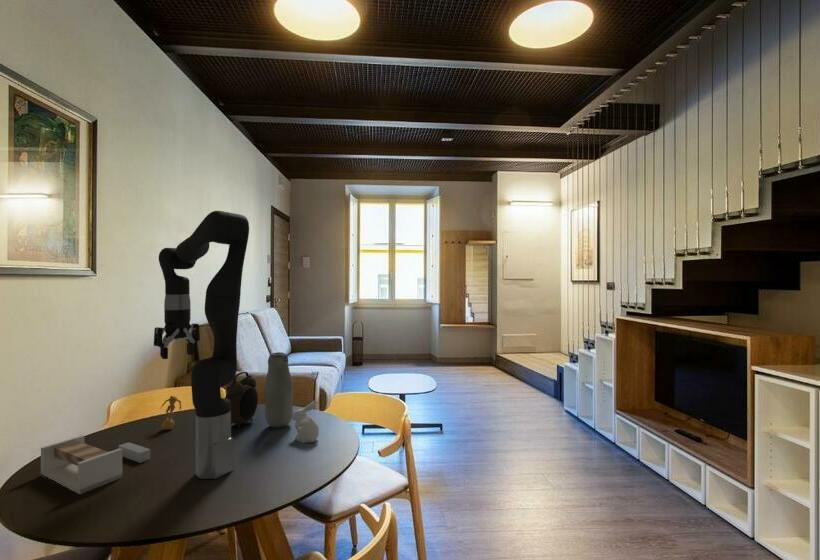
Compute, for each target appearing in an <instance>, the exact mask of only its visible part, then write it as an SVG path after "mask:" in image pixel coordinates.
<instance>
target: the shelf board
mask: <svg viewBox="0 0 820 560" xmlns="http://www.w3.org/2000/svg"><path fill="white" fill-rule="evenodd" d="M108 452H109V451H107V450H104V449H101V448H98V447H96V446H93V445H90V444H87V443H86V442H84V443H82V442H79V441H75V442H71V443H68V444H65V445H61V446H58V447H55V448H54V456H55V457H57V458H60V459H62V460H64V461H67V462H69V463H72V464H74V465H77V466H78V462H81V461H84V460H87V459H90V458H93V457H96V456H99V455H102V454H105V453H108Z"/></svg>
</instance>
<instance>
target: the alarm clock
mask: <svg viewBox="0 0 820 560" xmlns="http://www.w3.org/2000/svg"><path fill="white" fill-rule="evenodd" d="M243 374H245V376H246V377H243V378H242V379H241V380H239V381H238V380H237V379H238V377H239V376H241V375H243ZM256 387H257V380H255V378H253V377H252V374H249V372H247V371H241V372H238V373H236V375H235V378H234V379H233V381H232V382H231V383H229V384H227V385H226V395H225V396H224V398H225V399H228V400H230V402H231V425H232V424H237V430H239V429H240V426H241V424H247V423H248V422H254V419H253V417H254V416H255V413H256V411H257V408H258V403H259V397H258V396H259V395H258V392H257V390H256Z"/></svg>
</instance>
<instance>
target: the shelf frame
mask: <svg viewBox="0 0 820 560" xmlns="http://www.w3.org/2000/svg"><path fill="white" fill-rule="evenodd" d="M75 441H79V442H82V443H85V435H83V434H82V435H79V436H77V437H76V436H75V437H72V438H69V439H65V440H62V441H59V442H55V443H52V444H48V445H45V446H42V447H40V475H41V474H42V475H44V476H46V477H48V478H49V479H52V480H54V481H56V482H57V483H59V484H61V485H60V486H62V485H63V486H62V487H64V486H65V487H64V488H66V487H67V488H66V489H68V488H69V489H68V490H70V491H73V492H74V493H76V494H78V495H82V494H85V493H87V491H88V492H90V491H92V490H95V489H98V488H100V487H102V486H105V485H107V484H110V483H112V482H114V481H115V482H116V481H118V480H120V479H122V478H123V457H122V449H121V448H119V449H118V448H116V449H114V450H111V451H107V452H108V453H105V454H102V455H99V456H96V457H93V458H90V459H87V460H84V461H81V462H78V466H77V465H74V464H72V463H69V462H67V461H64V460H62V459H60V458H57V457H55V456H54V448H55V447H58V446H61V445H65V444H68V443H71V442H75ZM49 479H48V480H49ZM57 483H56V484H57ZM59 484H58V485H59Z"/></svg>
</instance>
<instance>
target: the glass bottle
mask: <svg viewBox="0 0 820 560" xmlns="http://www.w3.org/2000/svg"><path fill="white" fill-rule="evenodd" d="M267 364H268V366H267V373H266V377H265V381H264V390H263V393H264V394H263V395H264V416H265V422H266V424H268V426H269V427H271V428H276V429H277V428H284V427H286V426H288V424H290V422H291V420H293V419H292V415H293V413H294V412H293V410H294V408H293V407H294V403H293V402H294V400H293V399H294V397H293V396H294V382H293V377H292V375H291V373H290V366H289V356H288V355H287V354H286V353H284V352H273V353H271V354H270V355H269V356H268V358H267Z"/></svg>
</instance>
